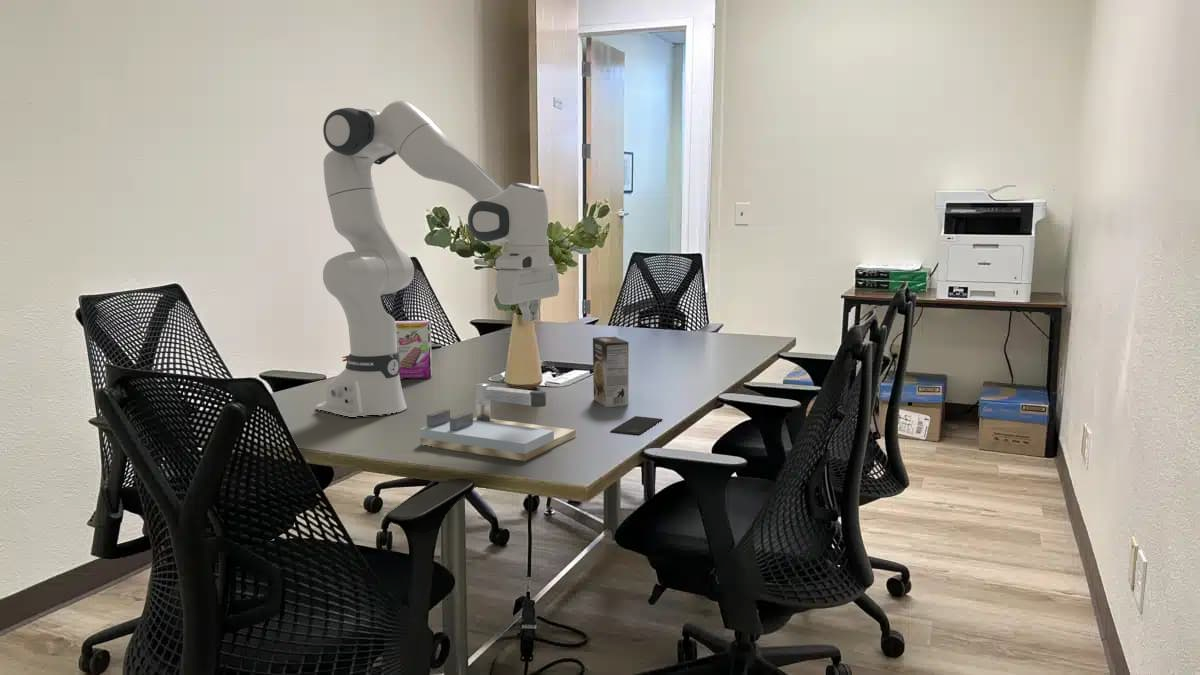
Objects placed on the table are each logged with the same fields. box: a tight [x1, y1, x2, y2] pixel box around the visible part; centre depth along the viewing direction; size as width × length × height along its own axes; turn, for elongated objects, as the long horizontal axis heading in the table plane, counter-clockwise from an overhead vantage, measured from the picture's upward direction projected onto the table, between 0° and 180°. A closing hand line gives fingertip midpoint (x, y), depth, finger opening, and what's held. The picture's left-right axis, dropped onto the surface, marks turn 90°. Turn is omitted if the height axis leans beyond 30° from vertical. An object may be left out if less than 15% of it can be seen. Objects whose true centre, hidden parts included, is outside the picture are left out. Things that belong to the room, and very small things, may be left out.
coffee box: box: [592, 336, 630, 408], centre depth 221 cm, size 9×6×16 cm
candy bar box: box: [395, 320, 433, 380], centre depth 255 cm, size 11×5×16 cm, turn 97°
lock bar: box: [474, 382, 547, 422], centre depth 194 cm, size 18×3×8 cm, turn 62°
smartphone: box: [609, 415, 664, 437], centre depth 200 cm, size 7×1×15 cm
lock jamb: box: [419, 408, 577, 462], centre depth 188 cm, size 26×20×6 cm
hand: (530, 320), depth 196 cm, fingers closed
